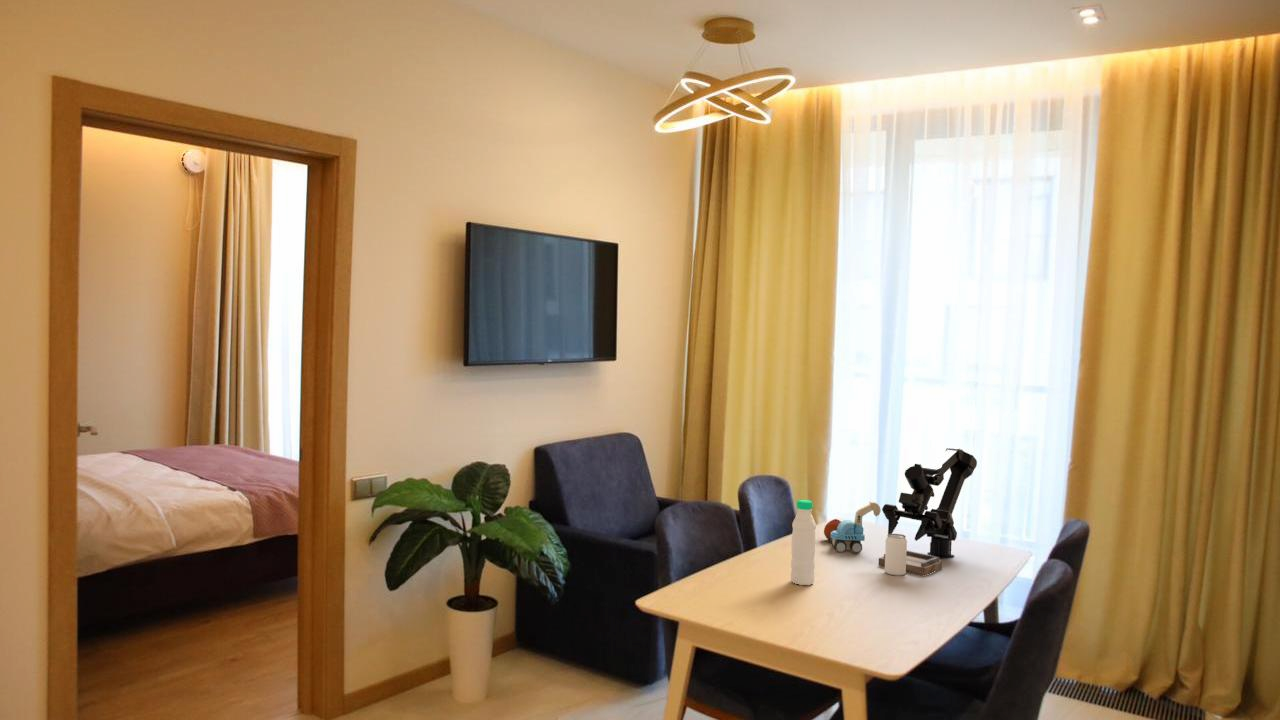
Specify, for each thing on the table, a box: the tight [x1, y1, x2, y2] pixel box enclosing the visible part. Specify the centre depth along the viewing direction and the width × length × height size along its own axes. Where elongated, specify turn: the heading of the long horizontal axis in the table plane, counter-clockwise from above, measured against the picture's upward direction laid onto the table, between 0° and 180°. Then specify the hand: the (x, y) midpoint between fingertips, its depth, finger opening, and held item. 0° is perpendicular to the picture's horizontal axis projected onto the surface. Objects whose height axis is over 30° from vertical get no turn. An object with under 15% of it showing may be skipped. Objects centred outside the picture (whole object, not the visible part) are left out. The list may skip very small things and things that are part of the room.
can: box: [884, 533, 908, 577], centre depth 288 cm, size 6×6×12 cm
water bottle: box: [790, 499, 817, 586], centre depth 275 cm, size 7×7×25 cm
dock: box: [878, 550, 943, 577], centre depth 296 cm, size 12×16×4 cm
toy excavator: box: [829, 501, 882, 554], centre depth 316 cm, size 9×17×17 cm, turn 89°
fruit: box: [823, 518, 842, 541], centre depth 329 cm, size 9×9×8 cm
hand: (902, 537), depth 291 cm, fingers open, 9 cm apart
